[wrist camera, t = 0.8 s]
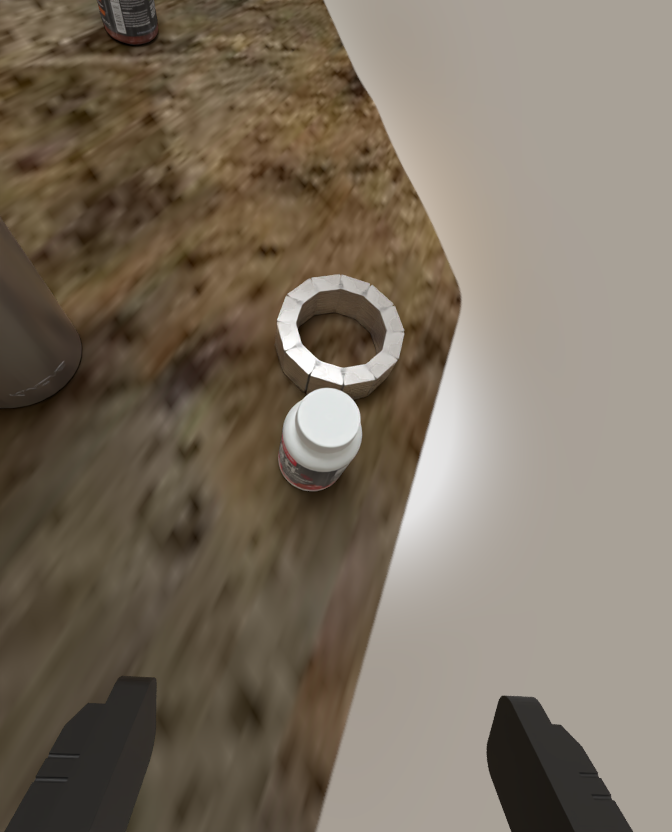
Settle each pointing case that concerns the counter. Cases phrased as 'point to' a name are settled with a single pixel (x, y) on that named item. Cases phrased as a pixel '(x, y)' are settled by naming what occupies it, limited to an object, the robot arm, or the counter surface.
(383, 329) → the ring collar
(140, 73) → the counter surface
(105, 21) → the supplement bottle
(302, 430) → the pill bottle
